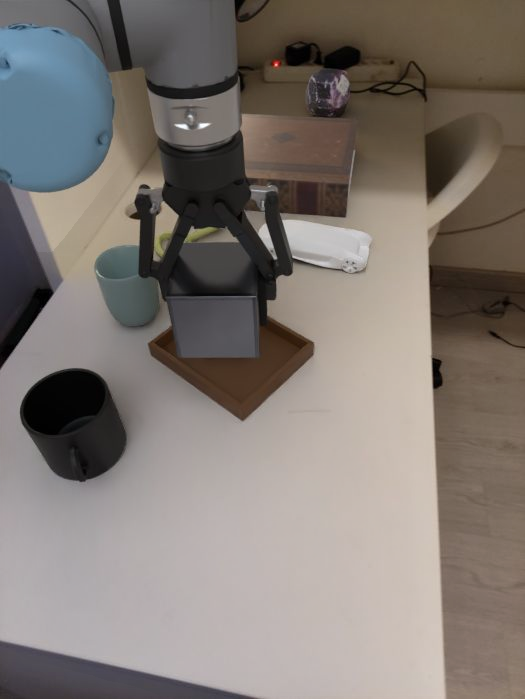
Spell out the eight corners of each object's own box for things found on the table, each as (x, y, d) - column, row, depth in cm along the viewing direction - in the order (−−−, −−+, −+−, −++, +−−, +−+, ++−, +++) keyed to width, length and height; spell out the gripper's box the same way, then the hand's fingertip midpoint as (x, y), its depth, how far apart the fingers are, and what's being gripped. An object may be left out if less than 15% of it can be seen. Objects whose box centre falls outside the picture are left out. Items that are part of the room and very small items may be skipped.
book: (345, 217, 94) (348, 183, 90) (192, 206, 99) (187, 173, 94) (355, 150, 111) (358, 118, 106) (223, 143, 115) (220, 112, 110)
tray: (150, 355, 74) (147, 343, 72) (222, 301, 81) (221, 288, 79) (242, 421, 66) (241, 409, 64) (313, 355, 73) (314, 342, 71)
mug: (48, 512, 59) (17, 470, 52) (46, 425, 66) (19, 378, 60) (134, 488, 60) (115, 444, 53) (122, 406, 68) (104, 359, 61)
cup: (111, 302, 82) (93, 248, 74) (162, 294, 82) (150, 240, 75) (111, 338, 76) (92, 284, 69) (165, 329, 77) (152, 275, 70)
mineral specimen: (320, 121, 116) (313, 70, 112) (303, 122, 125) (295, 75, 121) (361, 112, 118) (355, 61, 113) (341, 113, 127) (335, 66, 123)
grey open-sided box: (256, 296, 52) (259, 241, 59) (165, 297, 53) (176, 242, 59) (259, 357, 59) (261, 302, 65) (178, 357, 59) (187, 302, 65)
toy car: (371, 245, 89) (374, 222, 85) (364, 275, 84) (368, 252, 80) (265, 232, 92) (265, 209, 89) (253, 260, 87) (252, 237, 84)
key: (227, 231, 93) (226, 221, 91) (173, 266, 87) (171, 255, 85) (199, 216, 96) (197, 206, 95) (145, 249, 90) (142, 238, 89)
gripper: (64, 156, 45) (125, 342, 61) (327, 150, 44) (316, 340, 60) (86, 116, 50) (137, 298, 66) (322, 110, 49) (313, 295, 65)
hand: (222, 318), depth 63 cm, fingers closed on grey open-sided box, 9 cm apart
